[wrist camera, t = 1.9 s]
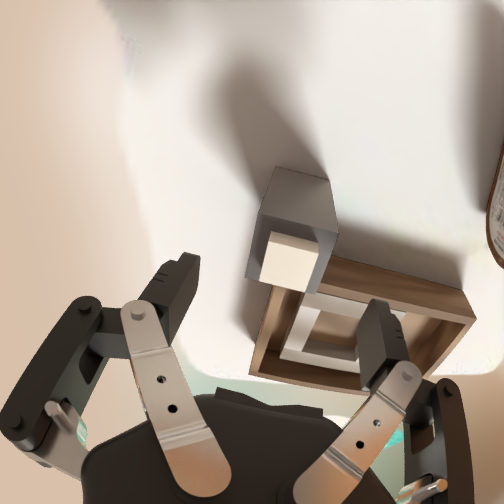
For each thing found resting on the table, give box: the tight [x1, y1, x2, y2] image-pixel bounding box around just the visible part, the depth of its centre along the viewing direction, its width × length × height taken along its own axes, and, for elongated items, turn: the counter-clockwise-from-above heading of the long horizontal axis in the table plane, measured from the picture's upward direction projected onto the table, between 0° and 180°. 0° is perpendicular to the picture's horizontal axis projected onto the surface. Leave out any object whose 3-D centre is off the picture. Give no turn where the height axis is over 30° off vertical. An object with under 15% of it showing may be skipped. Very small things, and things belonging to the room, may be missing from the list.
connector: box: [245, 167, 339, 295], centre depth 18 cm, size 4×4×9 cm
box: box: [248, 255, 477, 396], centre depth 26 cm, size 13×18×4 cm
